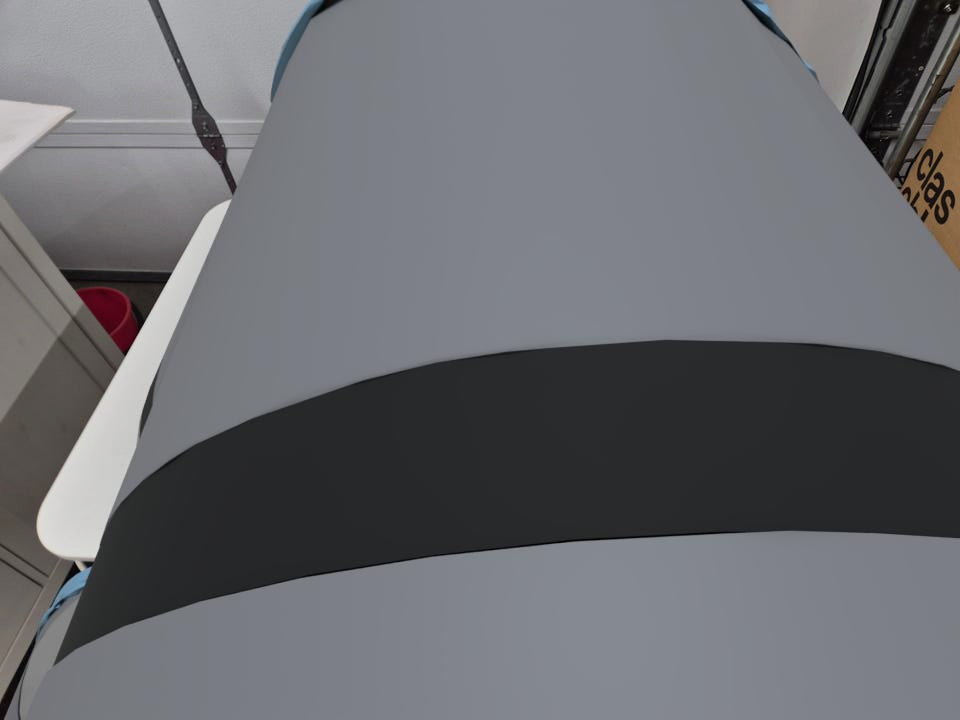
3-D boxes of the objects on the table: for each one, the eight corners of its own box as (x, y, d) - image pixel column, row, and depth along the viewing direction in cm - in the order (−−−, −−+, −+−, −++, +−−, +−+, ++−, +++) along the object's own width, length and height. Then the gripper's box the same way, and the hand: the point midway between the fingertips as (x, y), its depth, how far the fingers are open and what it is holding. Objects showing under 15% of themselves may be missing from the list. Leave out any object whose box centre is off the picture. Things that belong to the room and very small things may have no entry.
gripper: (541, 766, 48) (366, 587, 58) (703, 539, 59) (533, 421, 69) (544, 752, 43) (350, 556, 52) (722, 504, 54) (534, 381, 64)
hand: (454, 479), depth 61 cm, fingers open, 13 cm apart
